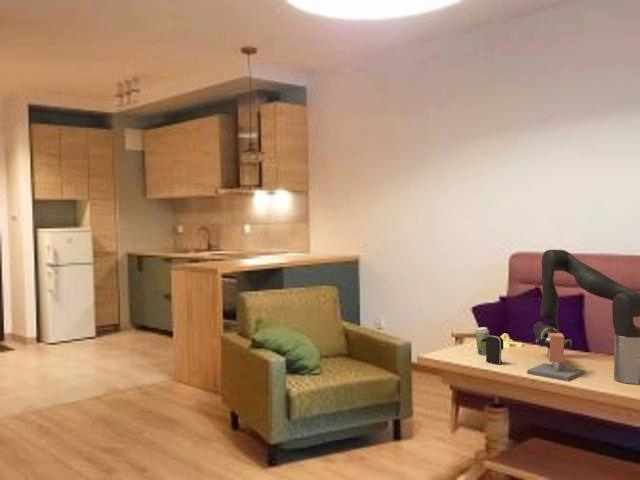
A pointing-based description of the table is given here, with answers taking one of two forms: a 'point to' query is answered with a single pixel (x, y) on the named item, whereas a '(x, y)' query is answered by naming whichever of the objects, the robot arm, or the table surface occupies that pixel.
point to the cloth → (509, 342)
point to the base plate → (555, 372)
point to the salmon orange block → (556, 347)
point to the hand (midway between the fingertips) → (556, 346)
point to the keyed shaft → (556, 366)
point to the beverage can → (481, 339)
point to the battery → (494, 349)
